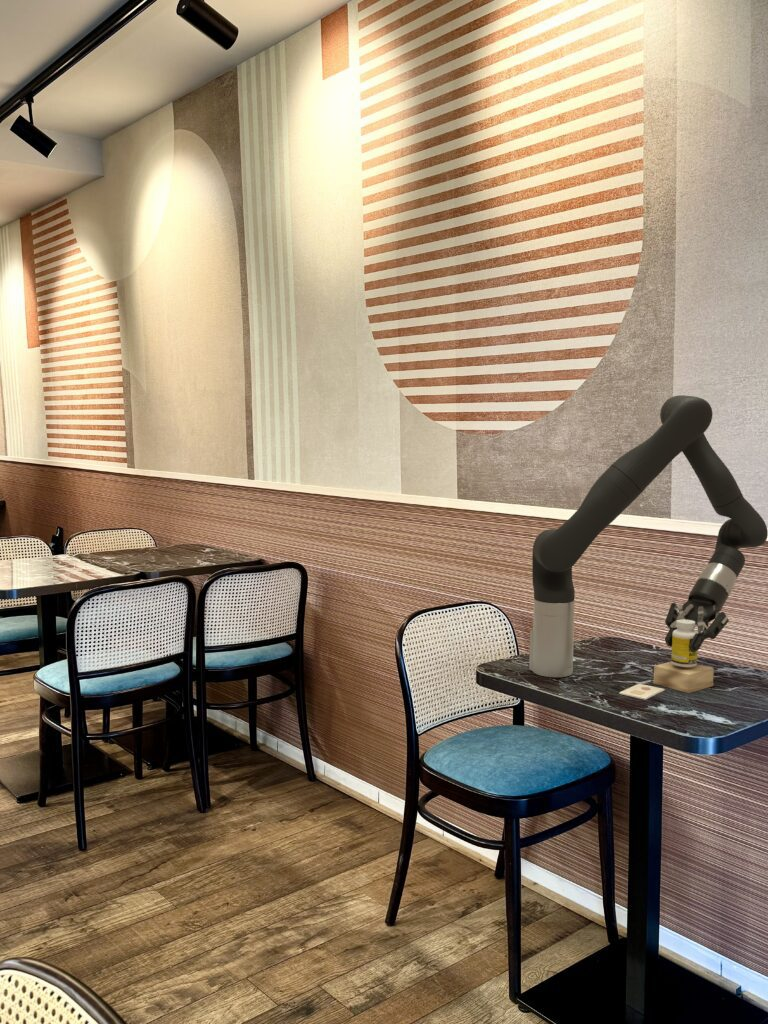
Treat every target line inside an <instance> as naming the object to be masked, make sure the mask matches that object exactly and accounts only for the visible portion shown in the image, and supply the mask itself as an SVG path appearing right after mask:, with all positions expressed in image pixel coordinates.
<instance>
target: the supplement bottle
mask: <svg viewBox="0 0 768 1024" xmlns="http://www.w3.org/2000/svg"><path fill="white" fill-rule="evenodd" d="M676 627H677V629H676V630H674V631H673V634H672V647H671V657H670V658H671V661H670V662H672V664H673V665H675V666H680V667H694V666H696V665H697V664H698V651H696V652H691V650H690V649H689V645H690V643H691V641H692V639H693V637H694V636H695V634H698V631H696V625H695V621H692V620H685V619H684V620H683V619H682V620H677V621H676Z"/></svg>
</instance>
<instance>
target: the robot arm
mask: <svg viewBox="0 0 768 1024" xmlns="http://www.w3.org/2000/svg"><path fill="white" fill-rule="evenodd" d="M659 413H660V414H659V416H660V417H659V418H660V423H661V424H662V425H660V426H659V427H658V428H657V430H656V431H655V432H654V433H653V434H652V435H651V436H650V437H648V438H647V439H646V440H645V441H643V442H642V443H640V444H639V445H637V446H635V447H634V448H632V449H630V450H629V451H627V452H626V453H624V454H623V455H621V456H619V458H617V459H616V460H615V461H614V462H613V463H612V464H610V466H608V468H607V469H606V470H604V472H603V473H602V474H601V475H600V476H599V477H598V478H597V479H596V480H595V482H594V483H593V485H592V486H591V487H590V489H589V491H588V492H587V494H586V496H585V497H584V499H583V501H582V502H581V504H580V505H579V507H578V509H577V510H576V511H575V512H574V513H573V514H572V515H571V517H570V518H568V519H567V520H566V521H565V522H564V523H563V524H562V525H560V526H559V527H558V528H557V529H556V528H550V529H545V530H543V531H541V532H540V533H539V534H538V535H537V537H536V538H535V540H534V541H533V545H532V553H531V554H532V561H531V563H532V565H531V566H532V571H531V572H532V574H531V575H532V577H531V578H532V587H533V620H532V623H533V627H532V629H530V631H529V663H528V665H529V667H528V669H529V671H532V673H534V674H535V675H538V676H541V677H546V678H564V677H568V676H572V674H574V672H573V671H574V669H573V668H574V638H575V637H574V635H575V634H574V632H575V599H576V598H575V592H576V591H575V586H574V582H573V566H575V565H576V564H577V562H578V561H579V559H580V558H581V557H582V556H583V554H584V553H585V552H586V550H588V548H589V547H590V546H591V544H593V542H594V541H595V539H596V538H597V537H598V536H599V535H600V534H601V533H602V532H603V531H604V530H605V529H606V528H607V527H608V526H610V524H611V523H613V522H614V521H615V520H616V519H617V518H618V517H619V516H621V514H622V513H623V512H624V511H625V510H626V509H627V508H628V507H630V506H631V505H632V504H633V502H634V501H635V500H637V498H638V497H639V496H640V495H641V494H642V493H644V492H645V491H646V488H647V487H648V486H650V484H651V483H652V482H653V481H654V480H655V479H656V478H657V477H658V476H659V475H660V474H661V473H662V472H663V471H664V470H665V468H667V466H668V465H669V464H670V463H671V462H673V460H674V459H675V458H676V457H677V456H678V455H679V454H681V453H682V454H683V455H684V457H685V458H686V460H687V461H688V463H689V465H690V466H691V468H692V469H693V471H694V473H695V475H696V477H697V478H698V480H699V483H700V484H701V486H702V488H703V490H704V493H705V494H706V496H707V499H708V501H709V503H710V505H711V506H712V508H713V510H714V512H715V513H716V514H717V515H719V516H720V517H726V518H729V519H727V520H726V521H725V522H723V524H721V526H720V528H719V529H718V533H717V539H716V544H715V547H714V552H713V554H712V556H711V557H710V559H709V560H708V563H707V564H706V566H705V567H704V569H702V571H701V572H700V574H699V576H698V577H697V580H696V581H695V584H694V586H693V587H692V589H691V590H690V591H689V595H688V599H687V601H686V602H684V603H683V604H681V605H680V604H676V603H675V602H672V603H671V604H670V606H669V609H668V612H667V615H666V618H665V621H664V623H665V625H666V626H667V628H668V629H669V630H668V632H667V633H666V636H665V637H664V642H665V644H666V645H667V647H670V648H672V634H673V631H674V630H676V629H677V627H676V621H677V620H682V619H683V620H692V621H695V626H697V634H695V636H694V637H693V639H692V641H691V643H690V645H689V649H690V650H691V652H696V651H697V652H698V651H699V650H700V648H701V647H702V645H703V643H704V641H706V640H708V639H711V640H715V639H716V638H717V636H718V635H719V634H720V633H721V632H722V630H723V629H724V628H725V626H727V624H728V623H729V621H730V620H729V617H728V615H727V614H726V613H725V611H722V608H724V606H725V603H726V602H727V600H728V598H729V596H730V595H731V593H732V591H733V589H734V586H735V583H736V581H737V579H738V578H739V576H740V574H741V572H742V569H743V568H744V566H745V562H746V557H745V555H744V553H743V552H741V550H739V549H747V548H757V547H760V546H762V545H764V544H765V543H766V541H767V538H768V526H767V524H766V522H765V520H764V518H763V517H762V516H761V514H759V512H758V511H757V509H755V508H754V507H753V505H752V504H751V503H750V502H749V501H748V500H747V499H746V498H745V497H744V495H743V493H742V491H741V489H740V487H739V485H738V483H737V481H736V479H735V477H734V476H733V474H732V472H731V471H730V469H729V468H728V466H726V464H725V462H724V461H723V460H722V459H721V458H720V456H719V455H718V454H717V453H716V451H715V450H714V448H713V447H712V446H711V444H710V442H709V441H708V439H707V436H706V434H705V432H707V430H708V429H709V427H710V425H711V423H712V420H713V414H714V413H713V408H712V406H711V404H710V402H708V401H707V400H706V399H704V398H702V397H698V396H694V395H692V396H691V395H686V394H685V395H684V394H683V395H674V396H671V397H670V398H668V399H667V400H665V402H663V405H662V406H661V409H660V412H659ZM710 622H711V623H710Z"/></svg>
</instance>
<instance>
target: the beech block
mask: <svg viewBox="0 0 768 1024" xmlns="http://www.w3.org/2000/svg"><path fill="white" fill-rule="evenodd" d="M714 671H715V670H714V667H711V666H708V665H703V664H699V663H697V665H696V666H694V667H680V666H675V665H673V664H672V662H671V661H668V662H664V663H660V664H657V665H654V666H653V681H652V684H654V685H658V686H661V687H665V688H669V689H672V690H676V691H679V692H682V693H687V694H691V693H694V692H697V691H702V690H705V689H708V688H711V687H713V686H715V682H714Z"/></svg>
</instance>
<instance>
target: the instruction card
mask: <svg viewBox="0 0 768 1024" xmlns="http://www.w3.org/2000/svg"><path fill="white" fill-rule="evenodd" d="M665 690H666V689H665V688H663V687H662V688H661V687H657V686H652V685H647V684H643V683H636V684H635V685H633V686H631V687H627V688H626V689H623V690H622V691H619V695H624V696H627V697H632V698H636V699H641V700H645V701H646V700H648V699H650V698H652V697H654V696H657V695H658V694H660V693H662V692H665Z"/></svg>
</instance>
